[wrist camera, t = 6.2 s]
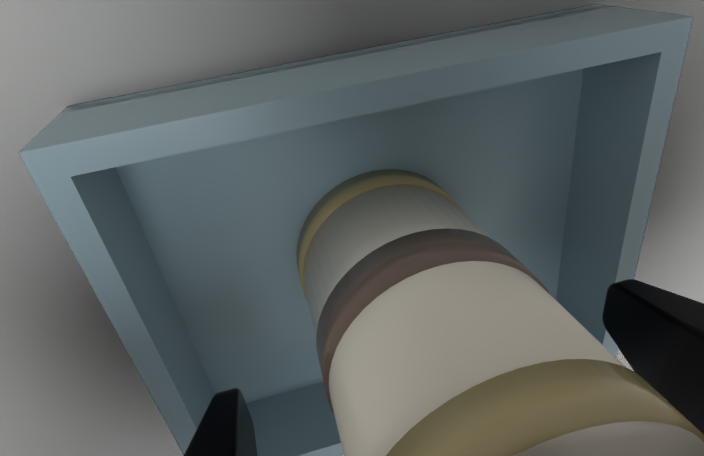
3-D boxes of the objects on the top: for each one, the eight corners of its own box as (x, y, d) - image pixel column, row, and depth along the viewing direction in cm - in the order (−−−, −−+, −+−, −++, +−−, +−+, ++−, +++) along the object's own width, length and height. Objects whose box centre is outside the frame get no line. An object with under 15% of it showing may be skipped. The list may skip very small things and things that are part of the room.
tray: (557, 314, 15) (612, 373, 13) (209, 412, 13) (206, 496, 11) (596, 4, 10) (692, 16, 8) (68, 105, 9) (18, 152, 7)
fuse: (463, 296, 13) (682, 586, 6) (314, 337, 12) (396, 693, 6) (457, 151, 11) (760, 368, 4) (278, 192, 10) (347, 498, 4)
